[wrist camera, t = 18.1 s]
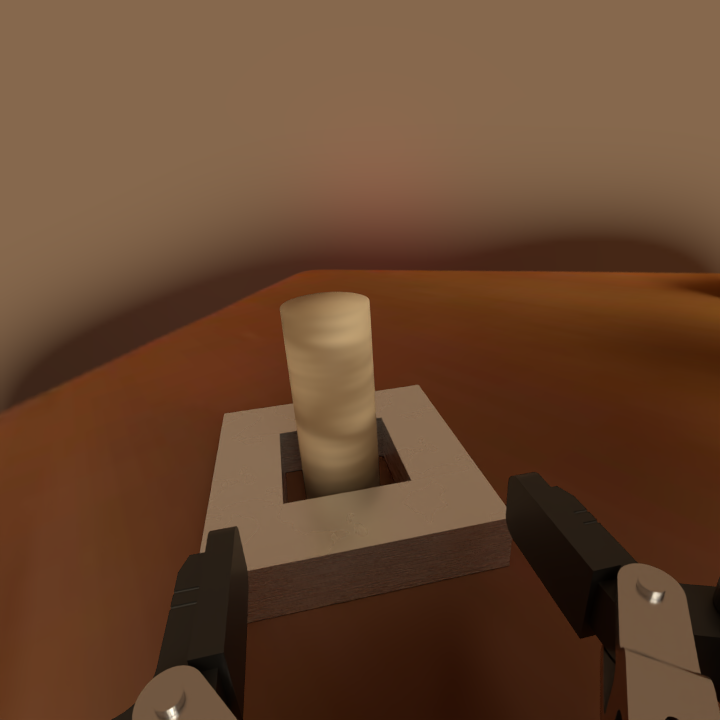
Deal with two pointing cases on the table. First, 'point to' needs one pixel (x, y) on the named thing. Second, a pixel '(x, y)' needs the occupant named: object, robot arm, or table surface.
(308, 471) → the peg
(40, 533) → the table surface
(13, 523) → the table surface
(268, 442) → the beige flat square frame
